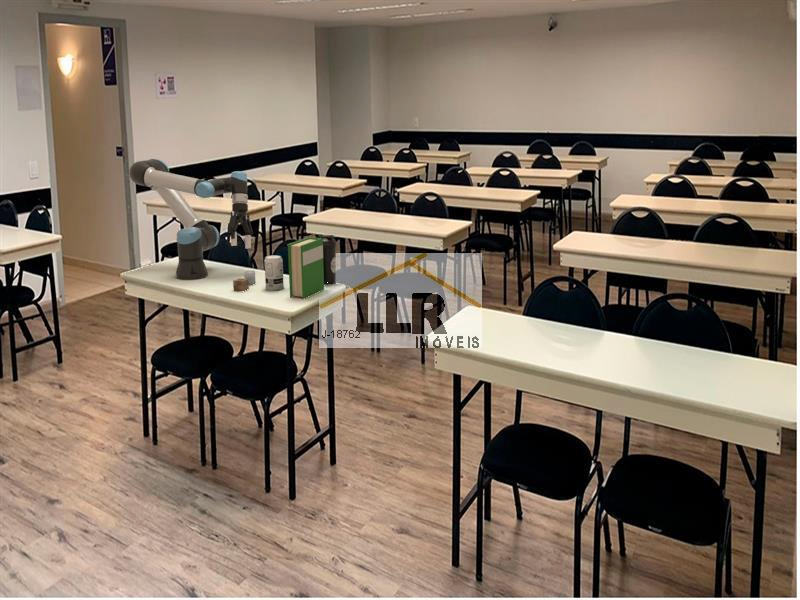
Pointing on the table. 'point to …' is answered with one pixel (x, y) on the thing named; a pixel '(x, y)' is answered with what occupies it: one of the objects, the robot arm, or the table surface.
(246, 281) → the walnut block
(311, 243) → the hardback book
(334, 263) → the water bottle
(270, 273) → the supplement can
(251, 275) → the grey plastic tub
